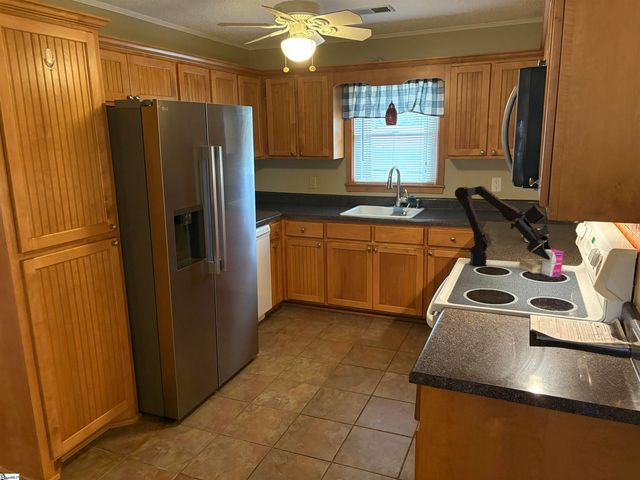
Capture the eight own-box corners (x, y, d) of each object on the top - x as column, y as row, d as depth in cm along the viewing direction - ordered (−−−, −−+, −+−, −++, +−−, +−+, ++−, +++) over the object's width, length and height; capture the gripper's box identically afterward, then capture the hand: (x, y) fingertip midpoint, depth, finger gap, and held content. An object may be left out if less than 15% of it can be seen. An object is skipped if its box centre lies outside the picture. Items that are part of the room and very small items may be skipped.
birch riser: (531, 273, 219) (532, 265, 219) (519, 266, 232) (520, 258, 231) (560, 273, 220) (560, 265, 219) (546, 266, 233) (546, 258, 232)
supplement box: (550, 277, 212) (552, 252, 209) (540, 274, 217) (543, 249, 215) (561, 277, 213) (564, 251, 211) (551, 273, 219) (554, 248, 217)
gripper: (537, 221, 207) (563, 249, 202) (546, 216, 221) (570, 243, 217) (516, 237, 212) (541, 265, 208) (526, 232, 227) (550, 258, 223)
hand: (551, 257), depth 214 cm, fingers open, 9 cm apart
